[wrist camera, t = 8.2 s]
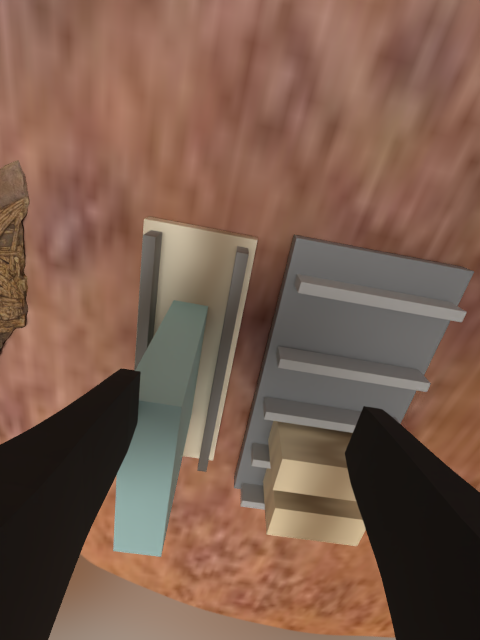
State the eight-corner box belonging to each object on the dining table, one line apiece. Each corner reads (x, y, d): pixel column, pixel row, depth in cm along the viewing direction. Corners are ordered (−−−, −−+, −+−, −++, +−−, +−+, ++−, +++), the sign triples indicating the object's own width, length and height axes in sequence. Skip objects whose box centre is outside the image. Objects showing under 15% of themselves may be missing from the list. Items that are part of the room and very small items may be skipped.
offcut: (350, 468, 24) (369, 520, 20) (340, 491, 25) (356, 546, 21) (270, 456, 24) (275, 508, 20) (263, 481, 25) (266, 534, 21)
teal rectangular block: (191, 415, 22) (160, 556, 14) (161, 410, 22) (113, 551, 14) (208, 306, 19) (181, 407, 11) (173, 300, 19) (120, 397, 11)
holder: (256, 236, 18) (258, 245, 16) (213, 449, 25) (210, 477, 22) (148, 216, 18) (135, 222, 16) (133, 438, 24) (122, 465, 22)
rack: (463, 266, 19) (493, 279, 17) (356, 494, 27) (367, 524, 24) (294, 234, 18) (301, 243, 16) (234, 477, 26) (233, 506, 24)
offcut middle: (376, 427, 22) (402, 476, 19) (364, 453, 23) (386, 505, 20) (276, 411, 22) (282, 458, 18) (268, 439, 23) (272, 489, 19)
